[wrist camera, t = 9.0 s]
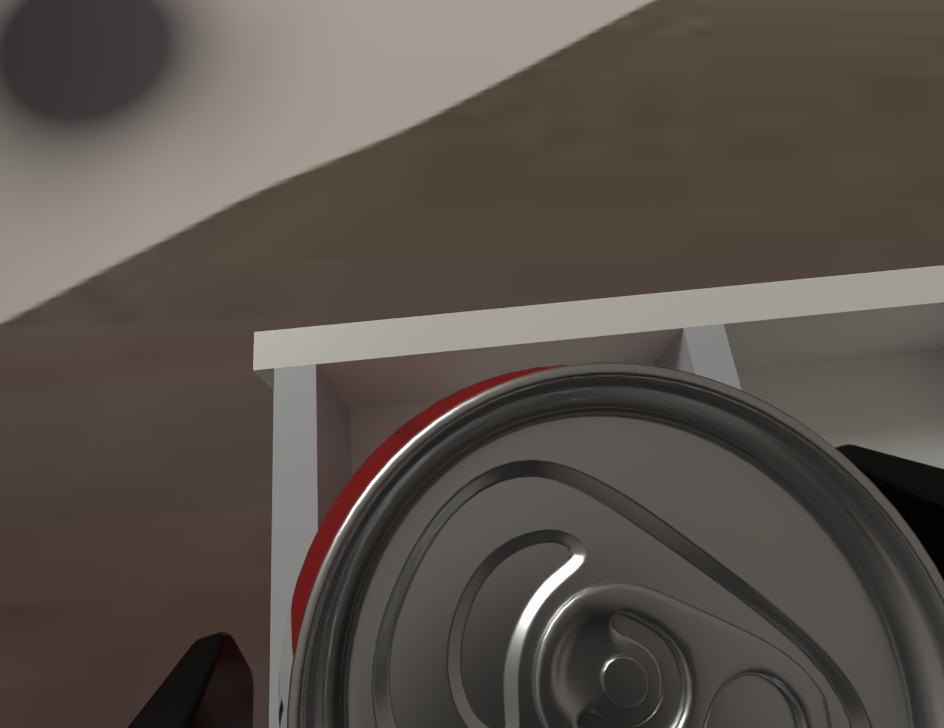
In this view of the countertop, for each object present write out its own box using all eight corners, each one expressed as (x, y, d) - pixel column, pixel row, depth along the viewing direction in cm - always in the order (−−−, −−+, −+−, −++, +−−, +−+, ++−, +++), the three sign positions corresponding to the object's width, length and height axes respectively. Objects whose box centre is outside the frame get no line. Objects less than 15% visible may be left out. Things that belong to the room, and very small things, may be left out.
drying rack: (1177, 827, 15) (1499, 941, 10) (313, 938, 14) (233, 1115, 10) (961, 327, 20) (1114, 249, 15) (308, 393, 19) (254, 332, 14)
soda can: (463, 445, 17) (442, 204, 6) (681, 547, 16) (1139, 482, 5) (352, 676, 15) (6, 955, 4) (593, 809, 14) (1039, 1682, 3)
